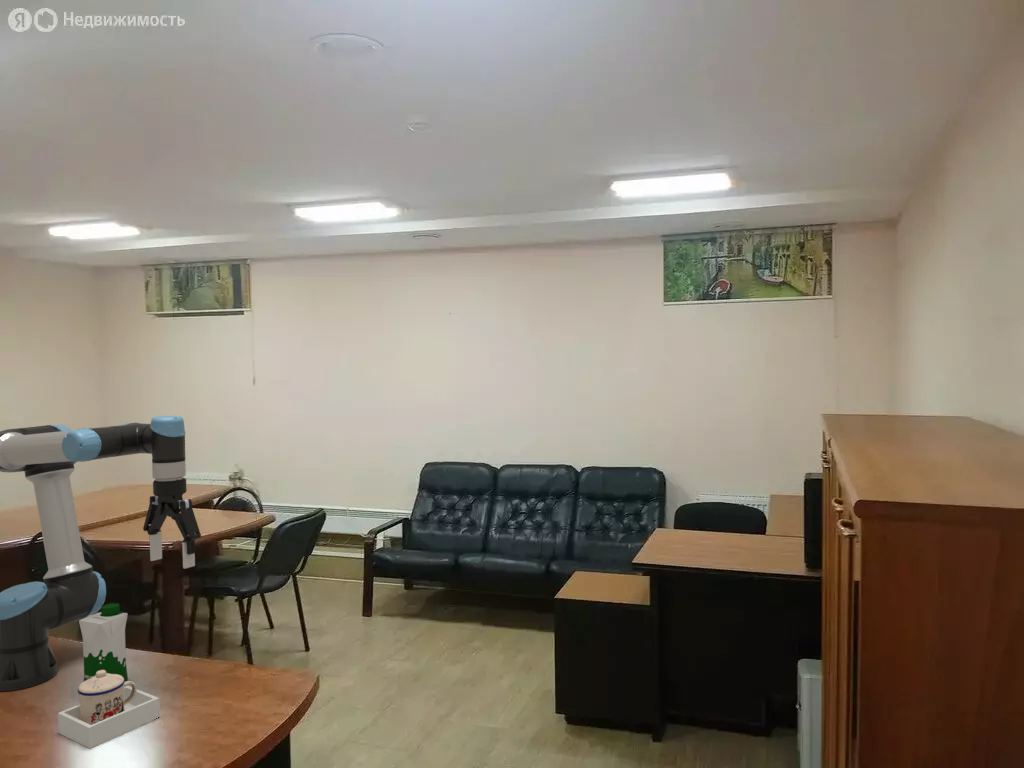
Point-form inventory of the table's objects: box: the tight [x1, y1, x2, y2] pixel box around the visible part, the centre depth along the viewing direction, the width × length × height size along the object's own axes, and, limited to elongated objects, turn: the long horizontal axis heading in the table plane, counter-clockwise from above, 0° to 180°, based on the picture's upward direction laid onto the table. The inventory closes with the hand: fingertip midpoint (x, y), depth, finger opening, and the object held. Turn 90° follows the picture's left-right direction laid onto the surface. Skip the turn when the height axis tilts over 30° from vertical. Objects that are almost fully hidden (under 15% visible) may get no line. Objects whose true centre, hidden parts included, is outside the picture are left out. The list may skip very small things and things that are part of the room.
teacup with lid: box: [77, 670, 138, 725], centre depth 164 cm, size 12×9×12 cm
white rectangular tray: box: [57, 685, 161, 750], centre depth 164 cm, size 13×16×4 cm
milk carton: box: [78, 602, 129, 682], centre depth 183 cm, size 9×9×20 cm
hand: (172, 563), depth 184 cm, fingers open, 13 cm apart
